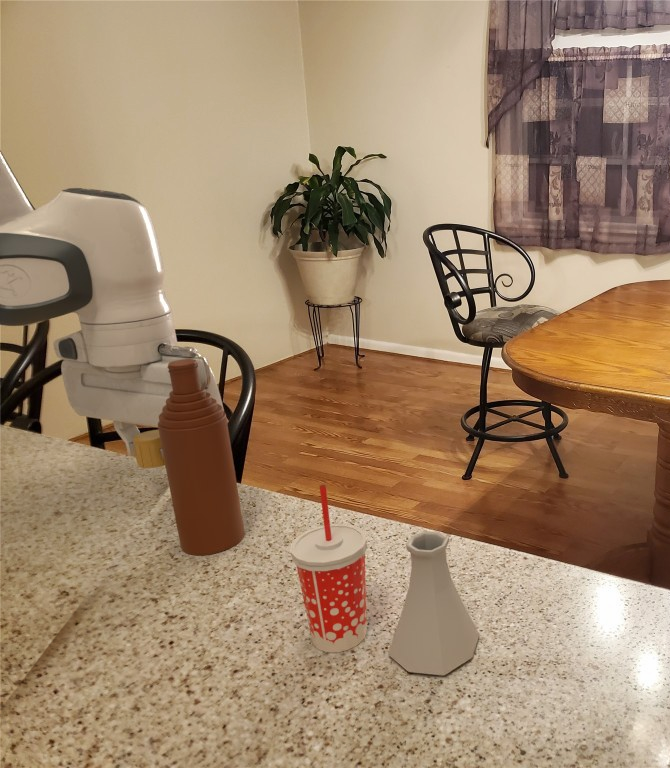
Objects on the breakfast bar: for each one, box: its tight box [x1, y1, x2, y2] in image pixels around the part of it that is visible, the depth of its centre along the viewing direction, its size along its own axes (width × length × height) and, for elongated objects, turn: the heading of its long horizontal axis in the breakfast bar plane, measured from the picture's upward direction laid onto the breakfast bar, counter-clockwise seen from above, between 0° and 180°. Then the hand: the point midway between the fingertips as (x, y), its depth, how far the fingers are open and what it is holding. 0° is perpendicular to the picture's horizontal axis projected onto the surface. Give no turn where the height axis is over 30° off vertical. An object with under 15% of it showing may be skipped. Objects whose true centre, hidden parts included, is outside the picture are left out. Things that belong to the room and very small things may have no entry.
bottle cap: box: [133, 429, 165, 469], centre depth 79 cm, size 4×4×3 cm
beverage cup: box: [290, 484, 368, 653], centre depth 57 cm, size 6×6×14 cm
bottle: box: [157, 359, 245, 556], centre depth 71 cm, size 6×6×20 cm
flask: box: [387, 530, 480, 676], centre depth 55 cm, size 7×7×10 cm
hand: (155, 457), depth 79 cm, fingers closed on bottle cap, 4 cm apart
